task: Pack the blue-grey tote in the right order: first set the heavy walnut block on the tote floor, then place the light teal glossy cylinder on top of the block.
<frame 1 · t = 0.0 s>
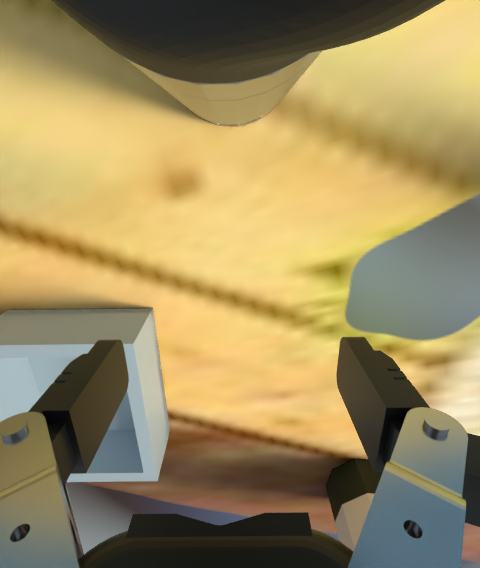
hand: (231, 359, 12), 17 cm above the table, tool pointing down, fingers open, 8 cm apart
wine bottle: (358, 479, 40), on the table
blue-grey tote: (96, 375, 33), on the table
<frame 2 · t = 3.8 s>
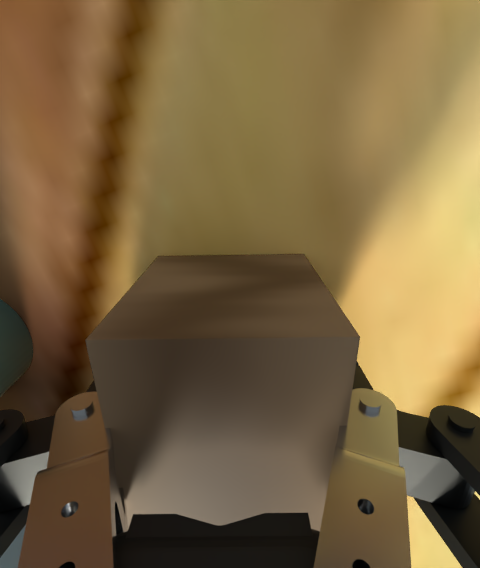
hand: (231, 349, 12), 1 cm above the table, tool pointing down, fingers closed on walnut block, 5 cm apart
walnut block: (233, 335, 13), on the table, touching gripper
blue-grey tote: (101, 547, 18), on the table
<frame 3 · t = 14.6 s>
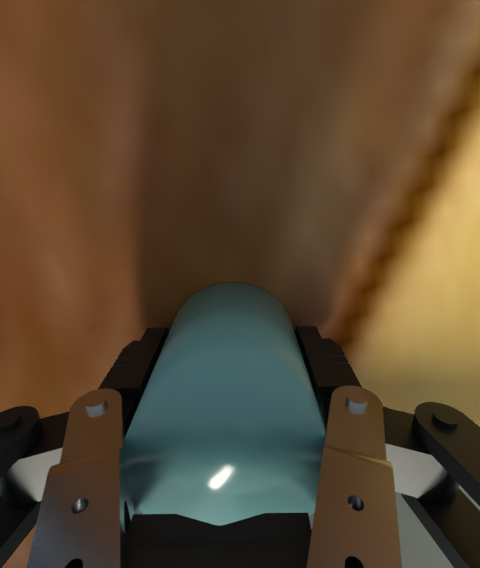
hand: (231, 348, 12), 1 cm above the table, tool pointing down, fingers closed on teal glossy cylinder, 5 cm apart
teal glossy cylinder: (232, 339, 13), on the table, touching gripper
blue-grey tote: (290, 551, 18), on the table
when the fingers open (9 cm above the table, at t = 19.9 s): teal glossy cylinder drops 1 cm, resting on walnut block.
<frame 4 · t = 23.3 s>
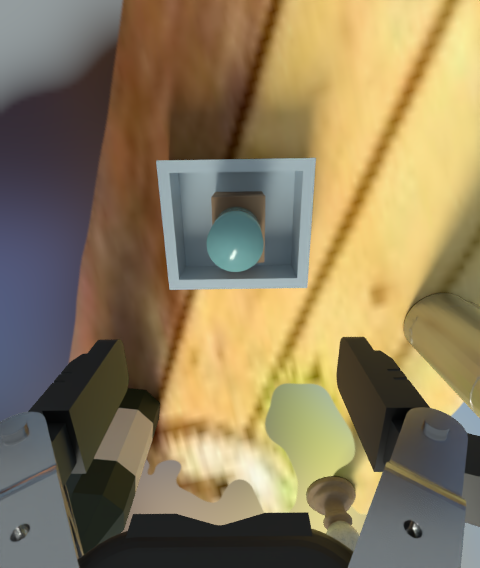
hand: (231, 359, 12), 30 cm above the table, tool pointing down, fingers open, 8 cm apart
walnut block: (238, 221, 39), point 1 cm above the table, touching blue-grey tote, teal glossy cylinder
teal glossy cylinder: (236, 230, 33), point 7 cm above the table, touching walnut block
candle holder: (329, 491, 58), on the table
wine bottle: (135, 407, 51), on the table
blue-grey tote: (237, 219, 40), on the table
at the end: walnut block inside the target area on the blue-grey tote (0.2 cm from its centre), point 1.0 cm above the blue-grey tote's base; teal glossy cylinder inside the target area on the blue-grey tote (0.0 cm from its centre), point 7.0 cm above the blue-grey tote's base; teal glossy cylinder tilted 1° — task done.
